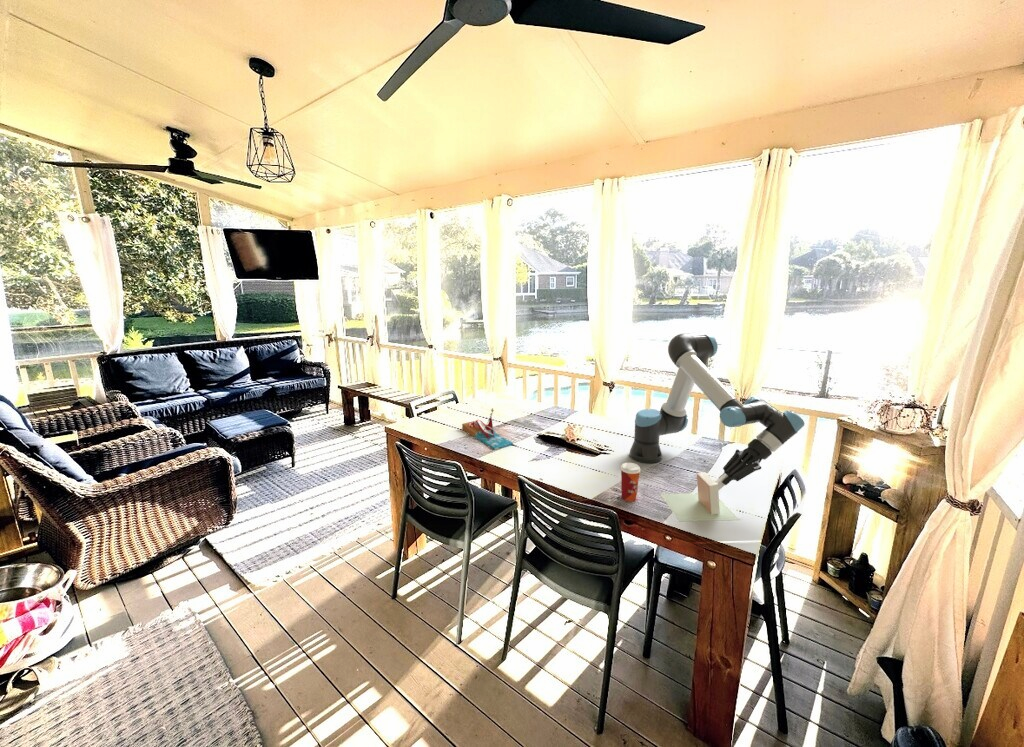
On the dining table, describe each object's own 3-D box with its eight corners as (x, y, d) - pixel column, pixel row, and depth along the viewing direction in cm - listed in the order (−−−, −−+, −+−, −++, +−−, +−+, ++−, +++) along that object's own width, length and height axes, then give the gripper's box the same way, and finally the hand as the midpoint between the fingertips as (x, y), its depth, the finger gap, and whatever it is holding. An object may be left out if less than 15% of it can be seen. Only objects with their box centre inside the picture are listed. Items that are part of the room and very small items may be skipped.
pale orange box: (698, 500, 157) (696, 473, 155) (706, 499, 157) (704, 471, 154) (711, 514, 147) (709, 485, 145) (719, 513, 147) (718, 484, 145)
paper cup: (633, 505, 155) (635, 472, 152) (615, 498, 160) (617, 466, 157) (642, 497, 161) (644, 465, 158) (624, 491, 166) (626, 460, 163)
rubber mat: (659, 495, 162) (659, 493, 162) (712, 494, 163) (712, 492, 163) (679, 522, 144) (679, 521, 144) (739, 521, 144) (739, 519, 144)
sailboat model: (494, 451, 209) (494, 419, 205) (462, 431, 239) (461, 403, 236) (513, 446, 215) (513, 416, 212) (479, 427, 246) (479, 400, 242)
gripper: (782, 459, 141) (730, 503, 145) (759, 444, 154) (712, 485, 157) (769, 445, 140) (717, 490, 143) (747, 432, 153) (700, 473, 156)
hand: (714, 487), depth 150 cm, fingers closed
